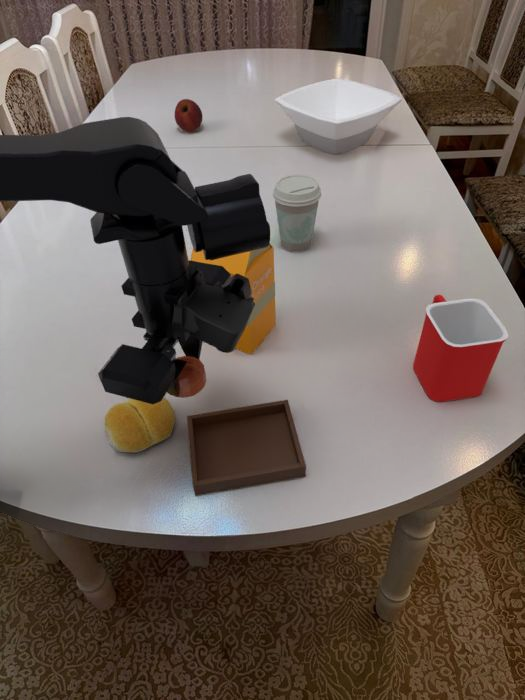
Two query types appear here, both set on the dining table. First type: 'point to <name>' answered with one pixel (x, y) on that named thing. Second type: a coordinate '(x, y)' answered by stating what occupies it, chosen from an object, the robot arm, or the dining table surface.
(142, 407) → the bread roll
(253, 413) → the serving tray
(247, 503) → the dining table surface
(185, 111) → the apple
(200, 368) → the side dish
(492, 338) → the mug
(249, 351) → the orange juice
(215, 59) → the dining table surface
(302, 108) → the bowl
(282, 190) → the coffee cup
